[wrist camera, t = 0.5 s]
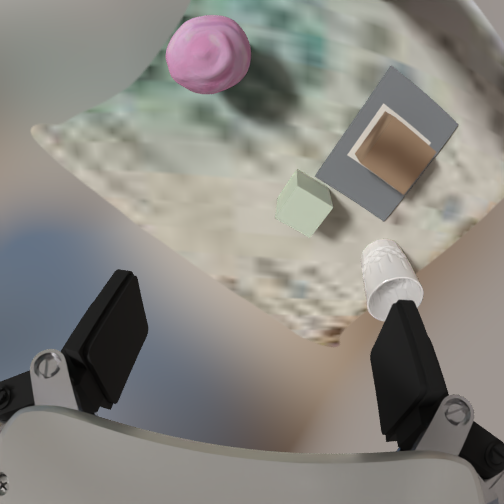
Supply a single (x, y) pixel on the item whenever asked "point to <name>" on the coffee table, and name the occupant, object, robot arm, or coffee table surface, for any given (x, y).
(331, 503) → the robot arm
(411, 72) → the coffee table surface
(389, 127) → the walnut base block
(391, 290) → the white cup
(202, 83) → the cupcake
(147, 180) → the coffee table surface
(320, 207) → the sage cube
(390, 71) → the mat
